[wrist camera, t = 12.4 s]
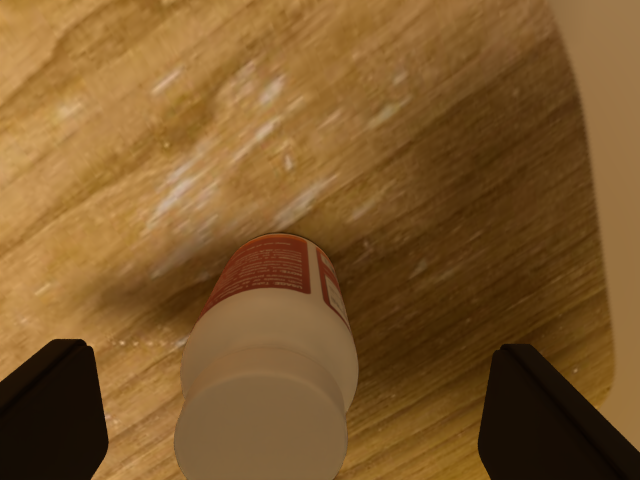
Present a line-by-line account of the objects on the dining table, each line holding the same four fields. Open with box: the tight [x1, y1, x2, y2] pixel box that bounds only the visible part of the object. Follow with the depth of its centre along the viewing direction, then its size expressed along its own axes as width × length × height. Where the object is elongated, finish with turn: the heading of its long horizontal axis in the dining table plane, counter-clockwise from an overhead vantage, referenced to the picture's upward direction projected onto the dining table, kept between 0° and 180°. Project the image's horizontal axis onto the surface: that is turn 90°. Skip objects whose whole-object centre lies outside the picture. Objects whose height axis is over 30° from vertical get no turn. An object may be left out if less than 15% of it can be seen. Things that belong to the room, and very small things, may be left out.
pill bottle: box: [174, 233, 359, 480], centre depth 12 cm, size 5×5×8 cm
